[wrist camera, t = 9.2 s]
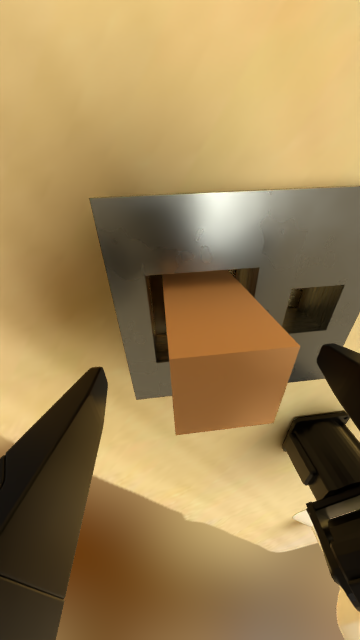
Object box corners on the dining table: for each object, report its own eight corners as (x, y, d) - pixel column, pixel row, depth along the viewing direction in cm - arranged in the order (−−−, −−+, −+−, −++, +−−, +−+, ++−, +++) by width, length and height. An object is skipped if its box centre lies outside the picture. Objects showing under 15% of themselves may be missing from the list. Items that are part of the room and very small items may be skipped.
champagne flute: (304, 508, 41) (449, 814, 21) (330, 507, 43) (489, 792, 22) (286, 520, 44) (397, 796, 24) (311, 519, 46) (436, 777, 26)
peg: (224, 266, 13) (300, 346, 6) (220, 320, 15) (273, 423, 8) (161, 271, 13) (169, 359, 6) (166, 324, 15) (175, 435, 8)
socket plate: (362, 185, 11) (422, 183, 9) (302, 351, 18) (327, 378, 15) (105, 197, 10) (89, 198, 8) (139, 368, 17) (136, 399, 14)
